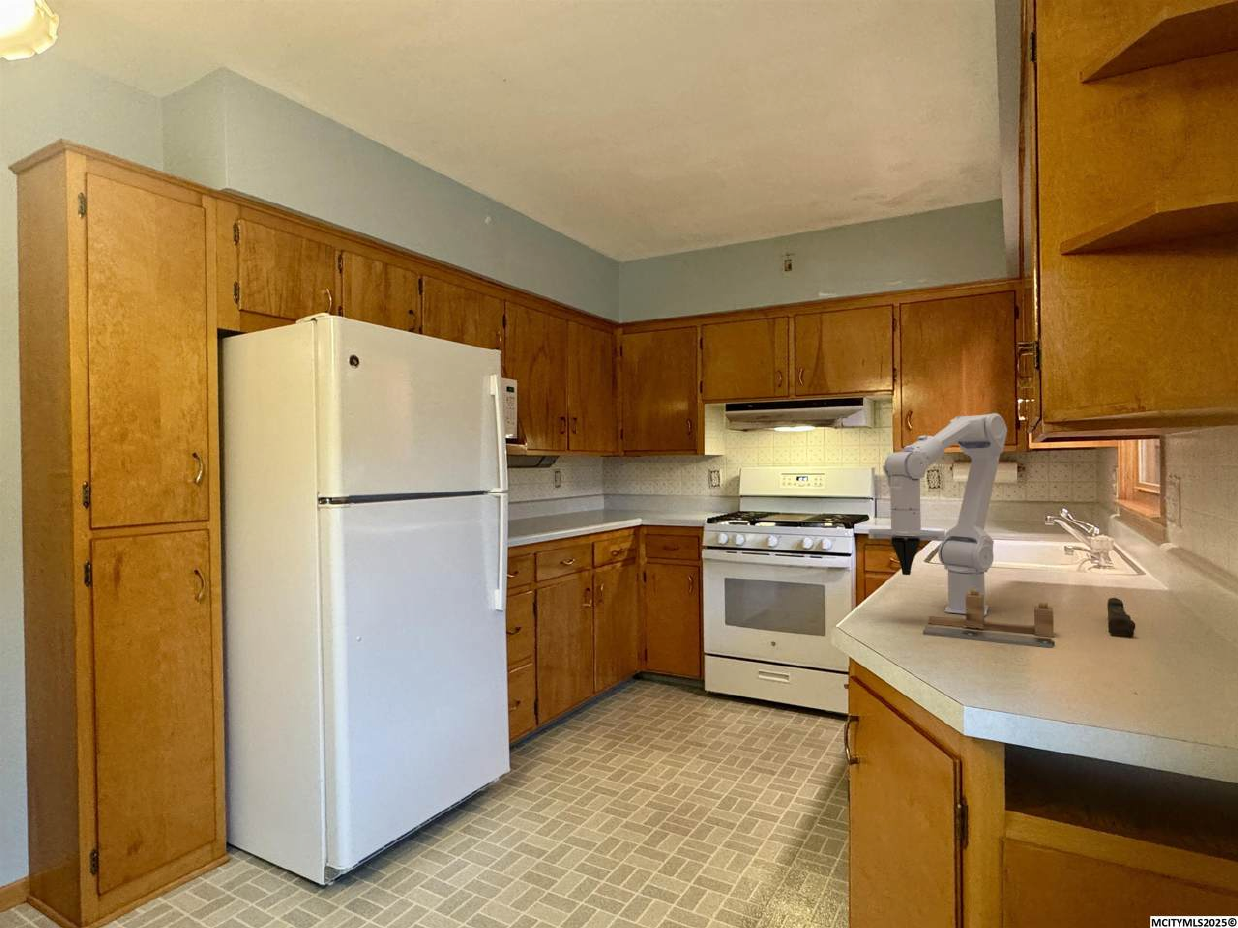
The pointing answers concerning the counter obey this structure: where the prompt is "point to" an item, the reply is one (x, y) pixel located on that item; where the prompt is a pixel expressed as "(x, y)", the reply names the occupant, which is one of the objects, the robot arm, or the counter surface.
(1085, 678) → the counter surface
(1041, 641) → the steel strip
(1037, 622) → the bar
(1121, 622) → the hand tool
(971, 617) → the sliding head
